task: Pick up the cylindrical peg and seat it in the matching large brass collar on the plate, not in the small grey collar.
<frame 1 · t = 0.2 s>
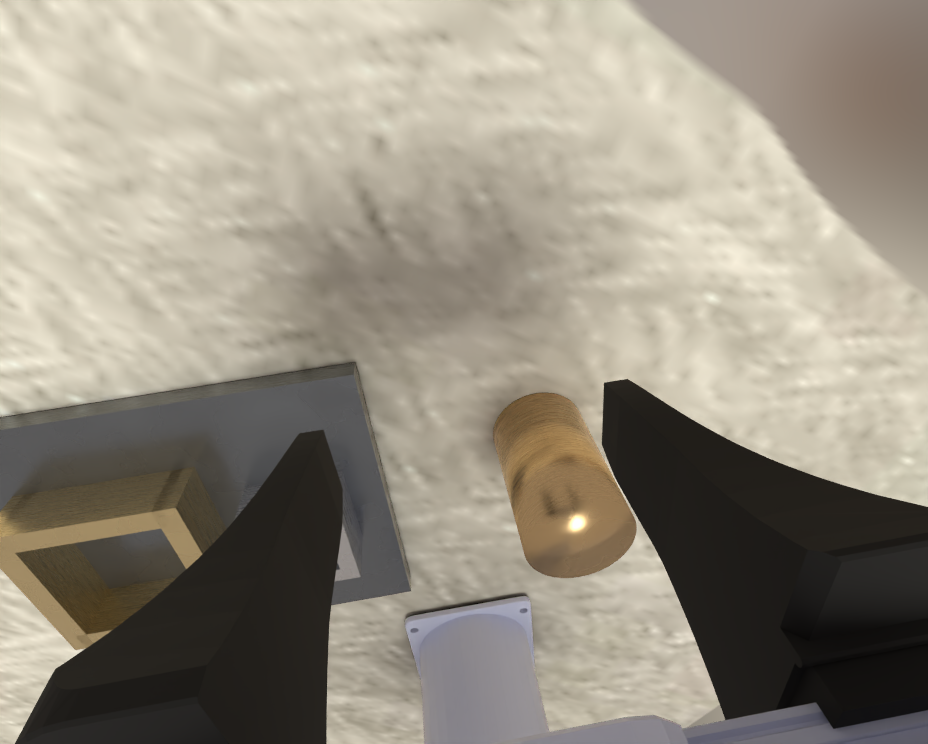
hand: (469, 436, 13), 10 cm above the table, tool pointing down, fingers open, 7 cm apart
fitting plate: (220, 513, 27), on the table
cylindrical peg: (537, 429, 26), on the table
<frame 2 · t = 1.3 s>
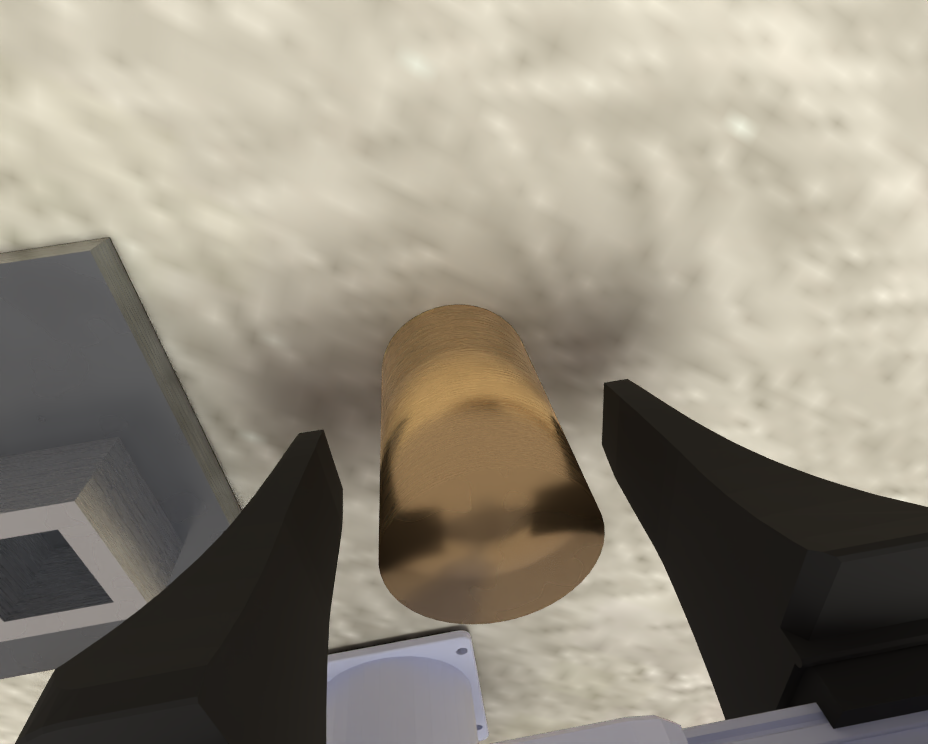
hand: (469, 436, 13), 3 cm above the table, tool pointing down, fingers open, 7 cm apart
cylindrical peg: (455, 371, 16), on the table
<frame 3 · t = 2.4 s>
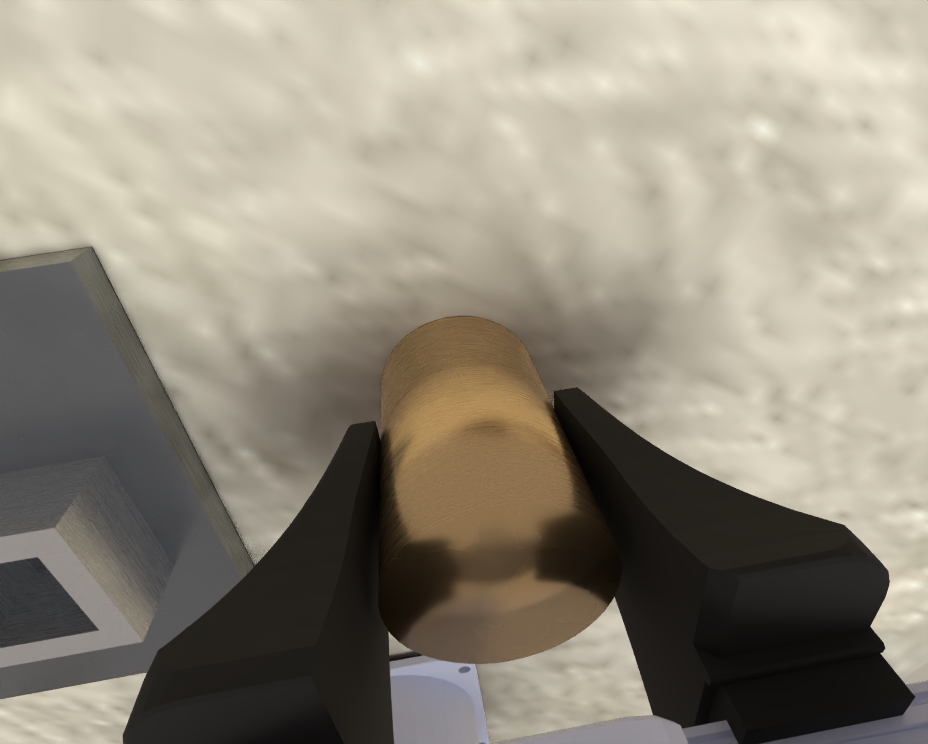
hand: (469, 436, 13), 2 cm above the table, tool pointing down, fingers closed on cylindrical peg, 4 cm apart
cylindrical peg: (458, 385, 15), on the table, touching gripper
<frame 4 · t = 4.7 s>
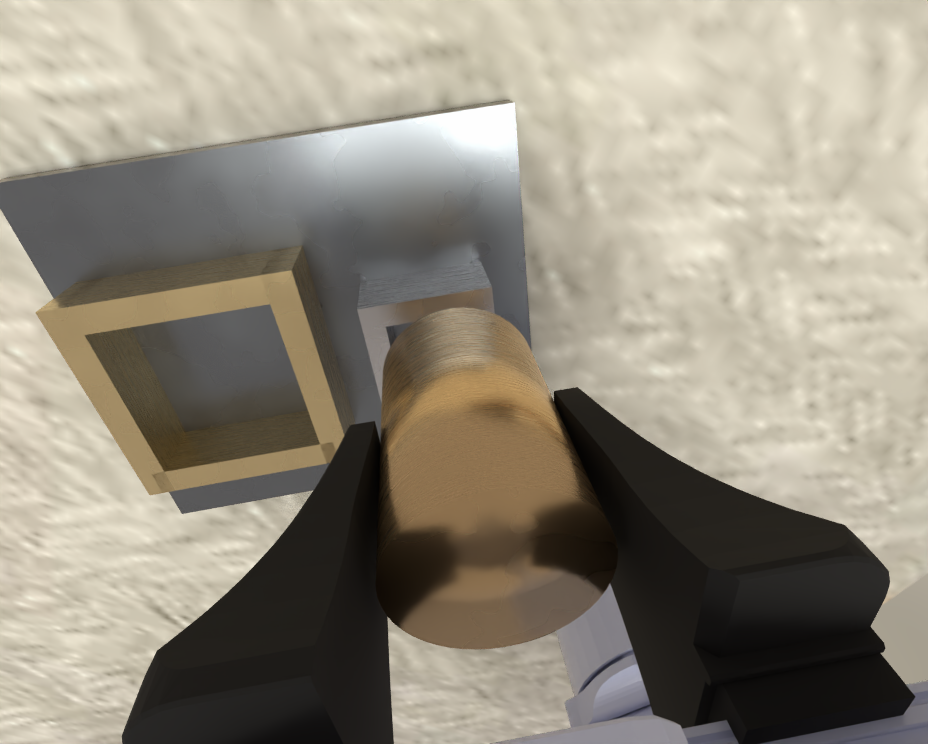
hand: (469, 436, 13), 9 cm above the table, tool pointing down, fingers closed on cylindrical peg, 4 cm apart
fitting plate: (321, 333, 22), on the table
cylindrical peg: (459, 376, 16), point 7 cm above the table, touching gripper
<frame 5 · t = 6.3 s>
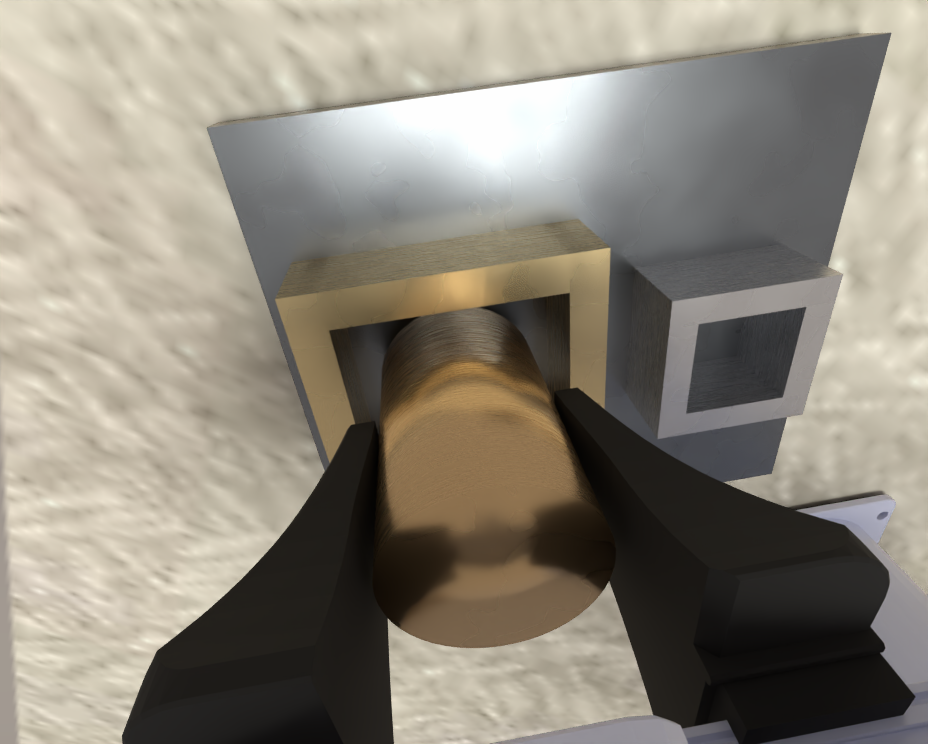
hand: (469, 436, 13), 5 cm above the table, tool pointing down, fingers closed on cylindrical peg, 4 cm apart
fitting plate: (554, 331, 18), on the table
cylindrical peg: (458, 375, 16), point 2 cm above the table, touching gripper
when the fingers open (4 cm above the table, at t = 7.2 s): cylindrical peg stays where it is, resting on fitting plate.
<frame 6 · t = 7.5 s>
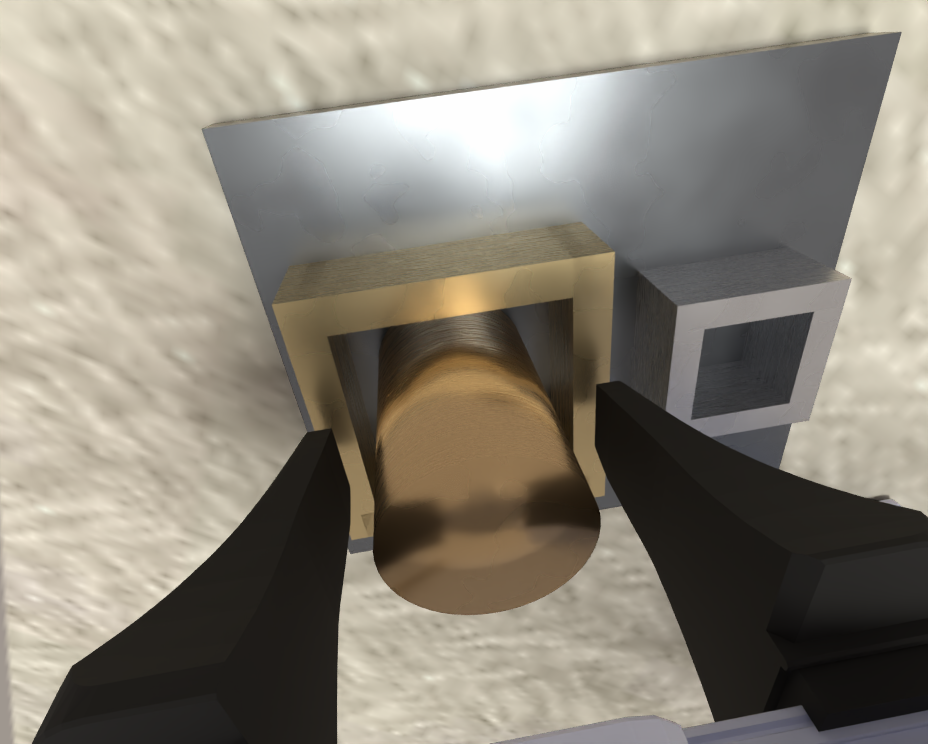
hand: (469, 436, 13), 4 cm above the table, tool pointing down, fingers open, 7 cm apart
fitting plate: (556, 335, 17), on the table
cylindrical peg: (452, 363, 16), point 1 cm above the table, touching fitting plate
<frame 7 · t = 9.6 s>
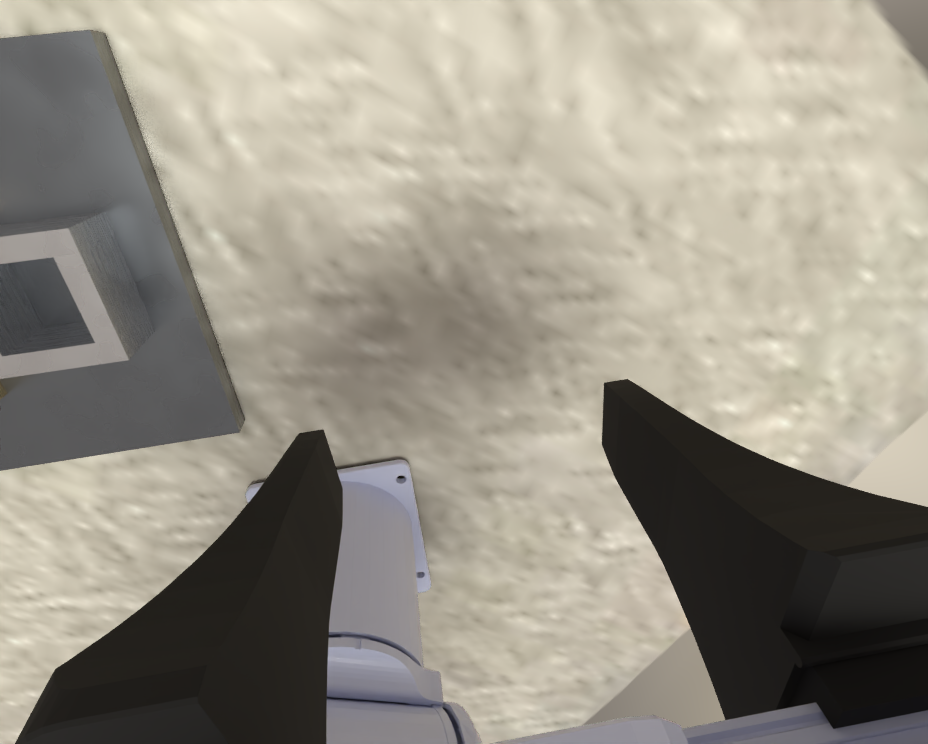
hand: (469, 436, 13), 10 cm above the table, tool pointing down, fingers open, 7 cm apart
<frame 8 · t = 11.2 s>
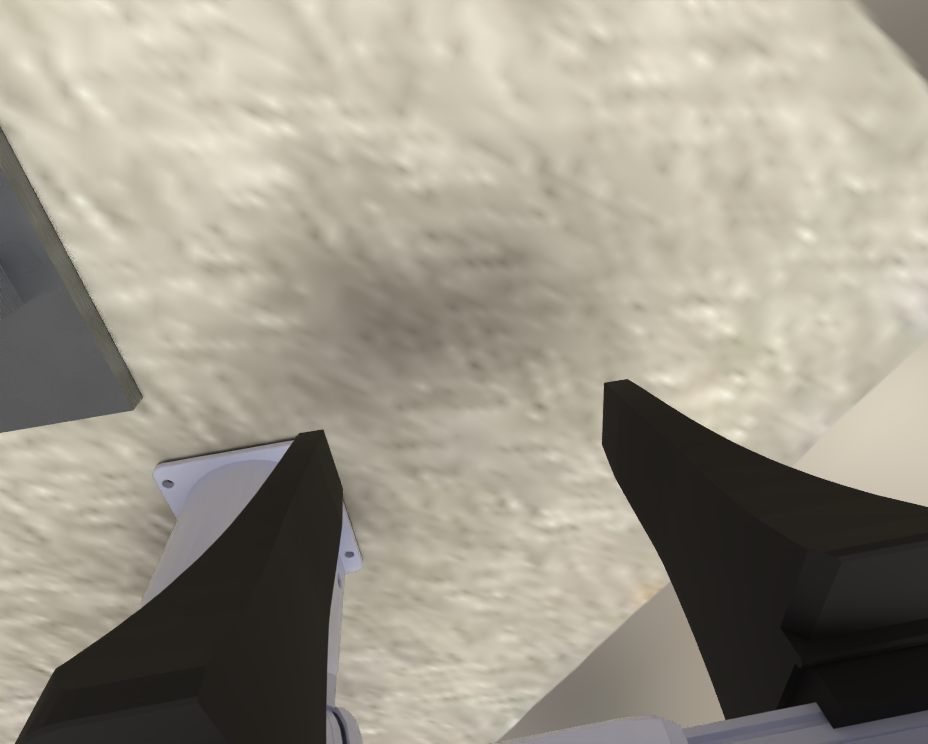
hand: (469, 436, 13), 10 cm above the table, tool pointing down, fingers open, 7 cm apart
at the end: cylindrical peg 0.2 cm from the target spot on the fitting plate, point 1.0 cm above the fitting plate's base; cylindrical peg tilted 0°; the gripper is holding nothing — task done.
